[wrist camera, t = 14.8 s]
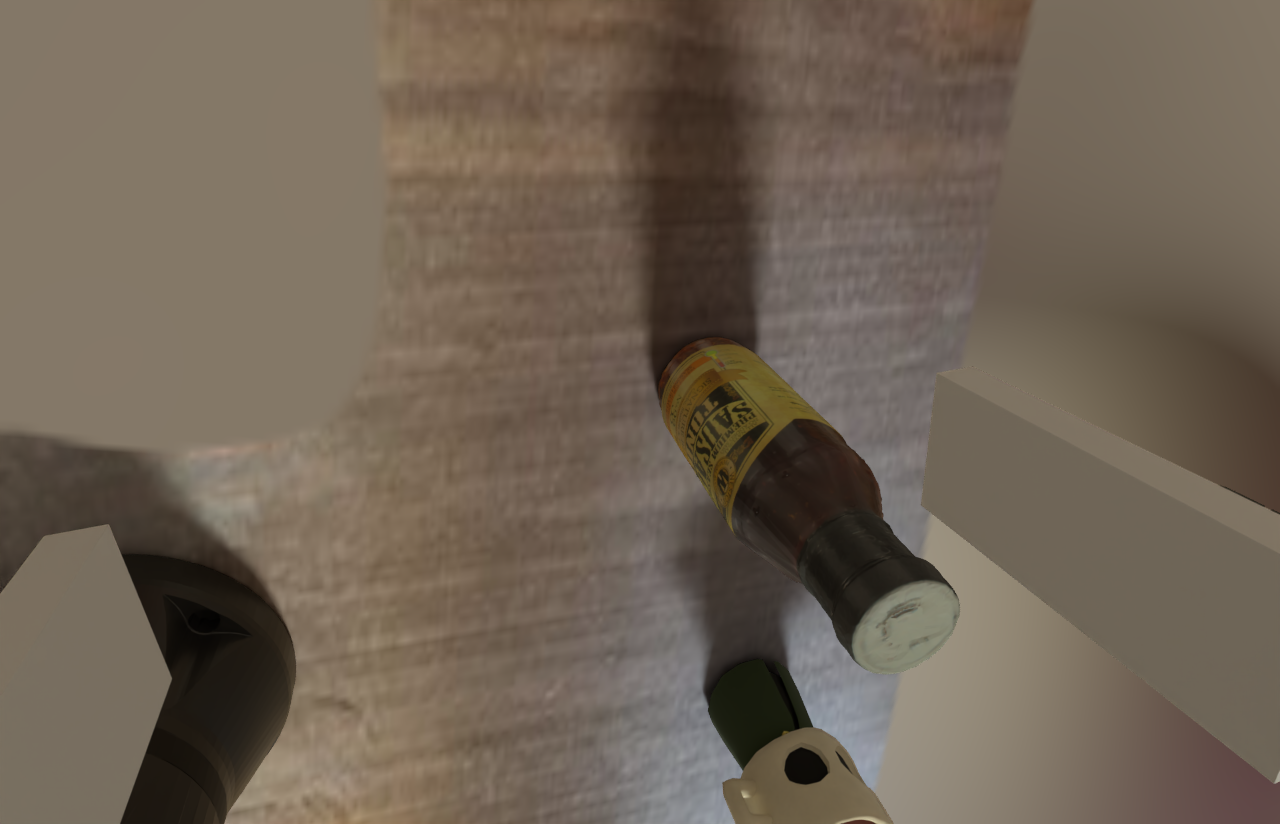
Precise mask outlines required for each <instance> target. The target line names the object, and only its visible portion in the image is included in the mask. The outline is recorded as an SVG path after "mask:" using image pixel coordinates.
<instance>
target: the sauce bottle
mask: <svg viewBox="0 0 1280 824" xmlns="http://www.w3.org/2000/svg"><path fill="white" fill-rule="evenodd" d="M658 387H659V390H658V393H659V400H660V403H659V404H660V407H661V410H662V417H663V420H664V423H665V425H666V427H667V429H668V430H669V432H670V433H671V435H672V437H673V438H674V440H675V442H676V443H677V445H678V446H679V448H680V450H681V451H682V453H683V454H684V456H685V457H686V459H687V461H688V462H689V464H690V465H691V467H692V468H693V470H694V471H695V473H696V475H697V477H698V478H699V479H700V481H701V483H702V484H703V486H704V488H705V489H706V491H707V492H708V494H709V496H710V497H711V499H712V500H713V502H714V503H715V505H716V506H717V508H718V509H719V511H720V512H721V514H722V515H723V517H724V519H725V520H726V522H727V524H728V525H729V527H730V528H731V530H732V531H733V533H734V534H735V536H736V537H737V538H738V539H739V540H740V541H741V542H742V543H743V544H745V545H746V546H747V547H749V548H750V549H751V550H753V551H754V552H755V553H757V554H758V555H759V556H761V557H762V558H763V559H765V560H766V561H767V562H769V563H770V564H771V565H773V566H774V567H775V568H777V569H778V570H779V571H781V572H782V573H783V574H784V575H786V576H787V577H788V578H790V579H791V580H793V581H796V582H799V583H802V584H803V585H804V586H805V588H806V589H807V590H808V591H809V592H810V593H811V594H812V595H813V596H814V597H815V598H816V599H817V600H818V602H819V603H820V604H821V606H822V608H823V609H824V610H825V611H826V613H827V614H828V616H829V617H830V619H831V620H832V623H833V628H834V630H835V633H836V636H837V638H838V640H839V642H840V643H841V644H842V645H843V647H844V648H845V649H846V650H847V651H848V653H849V654H850V656H851V657H852V658H853V660H854V661H855V662H856V663H857V664H859V665H860V666H861V667H863V668H864V669H866V670H868V671H870V672H872V673H880V674H895V673H899V672H903V671H906V670H908V669H911V668H913V667H916V666H917V665H919V664H920V663H922V662H923V661H925V660H927V659H929V658H930V657H932V656H933V655H934V654H935V653H936V652H937V651H939V650H940V649H941V647H942V646H943V645H944V644H945V643H946V641H947V640H948V639H949V637H950V636H951V635H952V632H953V630H954V627H955V625H956V623H957V620H958V618H959V613H960V604H959V599H958V597H957V595H956V593H955V591H954V590H953V588H952V587H951V586H950V584H949V583H948V582H947V581H946V580H945V579H944V578H943V577H942V575H941V574H940V572H939V571H938V570H937V569H936V568H935V567H934V566H933V565H932V564H931V563H929V562H928V561H926V560H924V559H921V558H918V557H915V556H914V555H913V554H912V553H911V552H910V551H909V550H908V548H907V547H906V546H905V545H904V544H903V543H902V542H901V541H900V540H899V539H898V538H897V537H896V536H895V535H894V534H893V531H892V529H891V528H890V525H889V524H887V523H886V522H885V521H884V520H883V513H882V504H881V501H882V498H881V495H880V489H879V485H878V483H877V481H876V479H875V477H874V475H873V473H872V471H871V469H870V467H869V466H868V465H867V464H866V463H865V461H864V460H863V459H862V458H861V457H860V456H859V455H858V454H857V453H856V452H855V451H854V450H853V449H851V448H850V447H849V446H848V445H847V444H846V442H845V440H844V439H843V437H842V436H841V435H840V434H839V433H838V432H837V431H836V430H835V429H834V428H833V427H832V426H831V425H830V424H829V423H828V422H827V421H826V420H825V419H824V418H823V417H822V416H821V415H819V414H818V413H817V412H816V411H815V410H814V409H813V408H812V407H811V406H810V405H809V404H808V403H807V402H806V401H805V400H804V399H803V398H802V397H800V396H799V395H798V394H797V393H796V392H795V391H794V390H793V389H792V388H791V387H790V386H789V385H788V384H787V383H786V382H785V381H784V380H783V379H782V378H781V377H780V376H779V375H778V374H777V373H776V372H775V371H774V370H773V369H772V368H770V367H769V366H768V365H767V364H766V363H765V362H764V361H763V360H762V359H761V358H760V357H759V356H758V355H756V354H755V353H754V352H752V351H750V350H749V349H747V348H745V347H743V346H742V345H740V344H738V343H737V342H734V341H732V340H729V339H725V338H721V337H708V338H705V339H699V340H696V341H695V342H692V343H690V344H689V345H687V346H685V347H683V348H682V349H681V350H680V351H679V352H678V353H677V354H676V355H675V356H674V357H673V358H672V360H671V361H670V362H669V363H668V365H667V367H666V369H665V370H664V371H663V373H662V378H661V380H660V382H659V384H658Z"/></svg>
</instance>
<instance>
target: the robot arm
mask: <svg viewBox="0 0 1280 824" xmlns="http://www.w3.org/2000/svg"><path fill="white" fill-rule="evenodd" d="M921 505H922V506H923V507H924V508H925V509H927V510H928V511H929V512H931V513H932V514H933V515H934V516H936V517H937V518H938V519H940V520H941V521H942V522H943V523H945V524H946V525H947V526H948V527H950V528H951V529H952V530H953V531H955V532H956V533H957V534H958V535H960V536H961V537H962V538H963V539H965V540H966V541H967V542H969V543H970V544H971V545H972V546H974V547H975V548H976V549H977V550H979V551H980V552H981V553H982V554H984V555H985V556H986V557H988V558H989V559H990V560H991V561H993V562H994V563H995V564H996V565H998V566H999V567H1000V568H1002V569H1003V570H1004V571H1005V572H1007V573H1008V574H1009V575H1010V576H1012V577H1013V578H1014V579H1015V580H1017V581H1018V582H1019V583H1021V584H1022V585H1023V586H1024V587H1026V588H1027V589H1028V590H1029V591H1031V592H1032V593H1033V594H1034V595H1036V596H1037V597H1038V598H1039V599H1041V600H1042V601H1043V602H1045V603H1046V604H1047V605H1048V606H1050V607H1051V608H1052V609H1054V610H1055V611H1056V612H1057V613H1058V614H1060V615H1061V616H1062V617H1064V618H1065V619H1066V620H1067V621H1069V622H1070V623H1071V624H1072V625H1074V626H1075V627H1076V628H1078V629H1079V630H1080V631H1081V632H1083V633H1084V634H1085V635H1086V636H1088V637H1089V638H1090V639H1092V640H1093V641H1094V642H1096V643H1097V644H1098V645H1099V646H1100V647H1102V648H1103V649H1104V650H1105V651H1107V652H1108V653H1109V654H1110V655H1112V656H1113V657H1114V658H1116V659H1117V660H1118V661H1119V662H1121V663H1122V664H1123V665H1124V666H1126V667H1127V668H1128V669H1129V670H1131V671H1132V672H1133V673H1135V674H1136V675H1137V676H1139V677H1140V678H1141V679H1142V680H1144V681H1145V682H1146V683H1147V684H1149V685H1150V686H1151V687H1152V688H1154V689H1155V690H1156V691H1157V692H1159V693H1160V694H1161V695H1162V696H1164V697H1165V698H1166V699H1167V700H1169V701H1170V702H1171V703H1173V704H1174V705H1175V706H1177V707H1178V708H1179V709H1180V710H1182V711H1183V712H1184V713H1185V714H1187V715H1188V716H1189V717H1190V718H1192V719H1193V720H1194V721H1195V722H1197V723H1198V724H1199V725H1200V726H1202V727H1203V728H1204V729H1206V730H1207V731H1208V732H1209V733H1211V734H1212V735H1213V736H1214V737H1216V738H1217V739H1219V741H1221V742H1222V743H1223V744H1225V745H1226V746H1227V747H1228V748H1230V749H1231V750H1232V751H1233V752H1235V753H1236V754H1237V755H1238V756H1240V757H1241V758H1242V759H1244V760H1245V761H1246V762H1247V763H1249V764H1250V765H1251V766H1252V767H1254V768H1255V769H1256V770H1257V771H1259V772H1260V773H1261V774H1263V775H1264V776H1265V777H1266V778H1268V779H1269V780H1270V781H1271V782H1273V783H1274V784H1275V783H1277V782H1280V513H1278V512H1277V511H1274V510H1269V509H1267V508H1265V506H1264V505H1262V504H1260V503H1258V502H1256V501H1254V500H1252V499H1250V498H1247V497H1245V496H1243V495H1241V494H1239V493H1237V492H1235V491H1233V490H1231V489H1229V488H1227V487H1223V486H1221V485H1217V484H1215V483H1213V482H1211V481H1209V480H1207V479H1205V478H1202V477H1201V476H1199V475H1196V474H1194V473H1192V472H1190V471H1188V470H1186V469H1184V468H1182V467H1180V466H1178V465H1176V464H1174V463H1171V462H1170V461H1168V460H1165V459H1163V458H1161V457H1159V456H1157V455H1155V454H1153V453H1151V452H1149V451H1147V450H1145V449H1143V448H1141V447H1138V446H1136V445H1134V444H1132V443H1130V442H1128V441H1126V440H1124V439H1122V438H1120V437H1118V436H1116V435H1114V434H1112V433H1110V432H1108V431H1105V430H1103V429H1101V428H1099V427H1097V426H1095V425H1093V424H1091V423H1089V422H1087V421H1085V420H1083V419H1081V418H1079V417H1076V416H1074V415H1072V414H1070V413H1068V412H1066V411H1064V410H1062V409H1060V408H1058V407H1056V406H1054V405H1051V404H1050V403H1048V402H1045V401H1043V400H1041V399H1039V398H1037V397H1035V396H1033V395H1031V394H1029V393H1027V392H1025V391H1023V390H1021V389H1018V388H1016V387H1014V386H1012V385H1010V384H1008V383H1006V382H1004V381H1002V380H1000V379H998V378H996V377H994V376H991V375H990V374H987V373H985V372H983V371H981V370H979V369H977V368H975V367H973V366H972V367H967V368H962V369H956V370H951V371H945V372H940V373H937V375H936V383H935V392H934V400H933V409H932V417H931V425H930V434H929V442H928V451H927V459H926V467H925V476H924V484H923V493H922V501H921ZM295 677H296V659H295V653H294V649H293V645H292V642H291V640H290V637H289V635H288V633H287V631H286V629H285V627H284V625H283V624H282V622H281V621H280V619H279V618H278V616H277V615H276V614H275V613H274V611H273V610H272V609H271V608H270V607H269V606H268V605H267V604H266V603H265V602H264V601H263V600H262V599H261V598H260V597H258V596H257V595H256V594H255V593H253V592H252V591H251V590H249V589H248V588H246V587H245V586H243V585H242V584H240V583H238V582H237V581H235V580H233V579H231V578H229V577H227V576H225V575H223V574H221V573H219V572H216V571H214V570H211V569H209V568H206V567H203V566H200V565H197V564H193V563H190V562H186V561H182V560H177V559H172V558H166V557H158V556H149V555H121V553H120V550H119V548H118V545H117V543H116V540H115V538H114V535H113V533H112V531H111V528H110V526H109V524H106V525H101V526H96V527H90V528H85V529H79V530H74V531H68V532H63V533H57V534H52V535H46V536H43V538H42V539H41V540H40V542H39V543H38V544H37V546H36V547H35V548H34V550H33V551H32V552H31V554H30V555H29V556H28V558H27V559H26V560H25V562H24V563H23V564H22V566H21V567H20V568H19V570H18V571H17V572H16V574H15V575H14V576H13V578H12V579H11V580H10V581H9V583H8V584H7V585H6V587H5V588H4V589H3V591H2V592H1V593H0V824H224V823H225V819H226V816H227V813H228V812H229V810H230V809H231V807H232V806H233V804H234V803H235V802H236V800H237V799H238V797H239V796H240V794H241V793H242V792H243V790H244V789H245V787H246V786H247V784H248V783H249V781H250V780H251V778H252V777H253V775H254V774H255V772H256V771H257V769H258V767H259V766H260V764H261V763H262V761H263V760H264V758H265V757H266V755H267V754H268V753H269V752H270V750H271V749H272V747H273V746H274V744H275V743H276V741H277V739H278V737H279V736H280V734H281V731H282V729H283V727H284V724H285V722H286V719H287V716H288V713H289V709H290V704H291V699H292V694H293V689H294V684H295Z"/></svg>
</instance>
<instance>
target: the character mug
mask: <svg viewBox="0 0 1280 824" xmlns="http://www.w3.org/2000/svg"><path fill="white" fill-rule="evenodd" d="M774 663H775V665H776V668H777V670H778V672H779V674H780V676H781V677H779V676H777V675H775V674H773V673H769V671H768V669H767V667H766V665H765V663H764V662H763V660H761V659H756V660H752V661H749V662H745V663H742V664H739V665H737V666H736V667H735V668H733V669H732V670H730V671H729V672H727V673H726V674H724V675H723V676H722V677H721V679H720V681H719V682H718V684H717V686H716V687H715V689H714V691H713V693H712V695H711V699H710V703H709V708H708V712H709V715H710V718H711V720H712V723H713V725H714V726H715V728H716V730H717V731H718V733H719V735H720V736H721V738H722V740H723V741H724V743H725V745H726V746H727V748H728V749H729V751H730V752H731V753H732V755H733V756H734V758H735V759H736V761H737V762H738V764H739V765H740V767H741V768H742V770H743V773H742V776H741V779H736V778H732V779H729V780H727V781H725V782H723V795H724V798H725V800H726V802H727V805H728V807H729V809H730V812H731V814H732V817H733V819H734V821H735V824H893V821H892V820H891V818H890V817H889V815H888V814H887V812H886V810H885V809H884V807H883V805H882V804H881V802H880V801H879V799H878V798H877V796H876V794H875V793H874V792H873V791H872V790H871V789H870V788H868V787H867V786H866V784H865V783H864V781H863V779H862V778H861V776H860V775H859V773H858V770H857V768H856V766H855V764H854V761H853V760H852V758H851V757H850V755H849V753H848V752H847V750H846V749H845V748H844V747H843V746H842V745H841V744H840V743H839V742H838V741H837V740H836V738H834V737H833V736H831V735H829V734H828V733H826V732H825V731H823V730H822V729H818V728H814V727H813V725H812V723H811V720H810V718H809V715H808V713H807V711H806V708H805V706H804V703H803V701H802V698H801V696H800V694H799V691H798V689H797V687H796V685H795V683H794V681H793V679H792V677H791V675H790V673H789V671H788V670H787V669H786V668H785V667H784V666H783V665H781V664H780V663H779V662H778V661H774Z"/></svg>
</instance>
